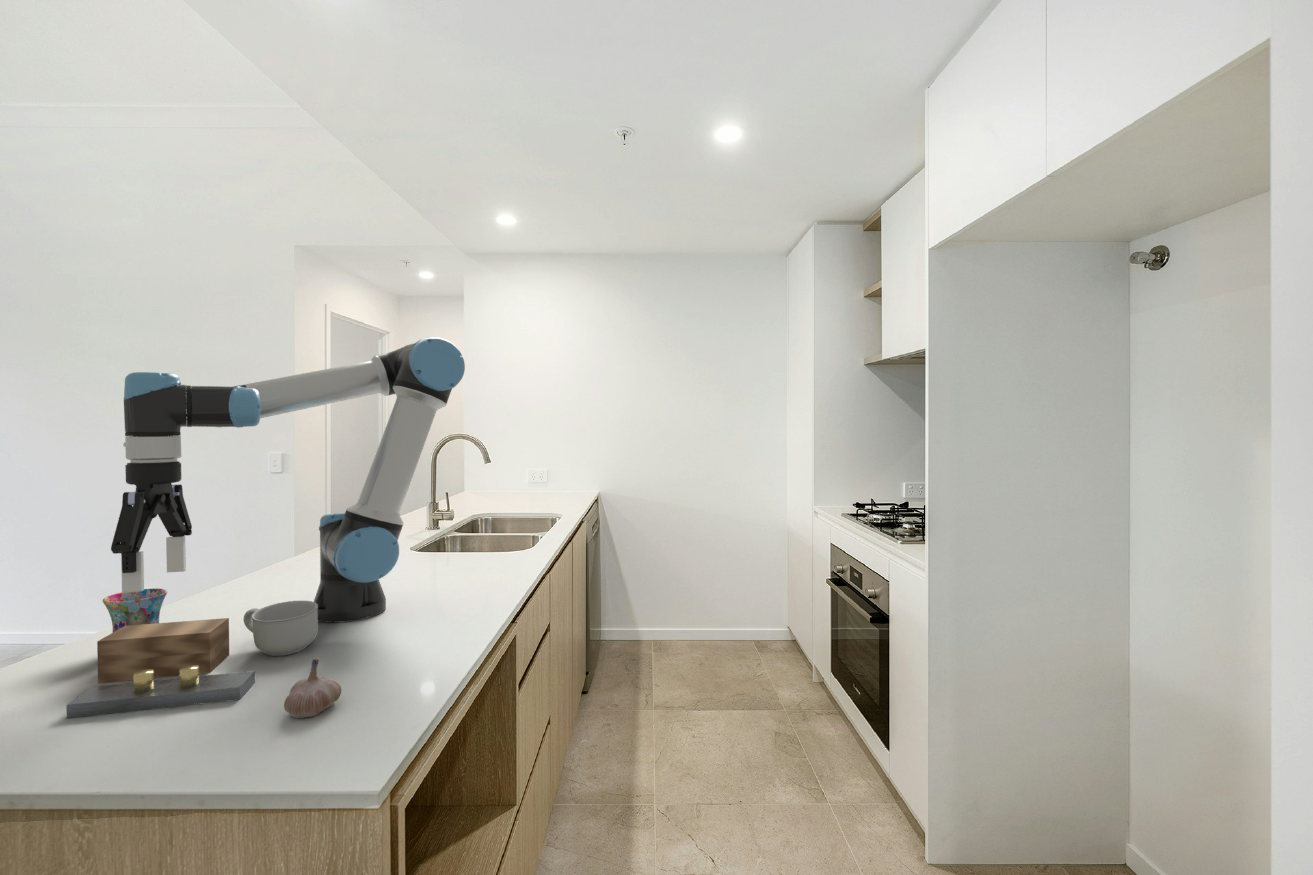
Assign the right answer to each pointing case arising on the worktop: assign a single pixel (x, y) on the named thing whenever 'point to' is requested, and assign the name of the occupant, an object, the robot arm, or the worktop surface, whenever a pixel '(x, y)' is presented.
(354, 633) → the worktop surface
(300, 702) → the garlic bulb
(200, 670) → the brown wooden block
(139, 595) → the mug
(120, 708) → the mount rail
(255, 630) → the teacup
